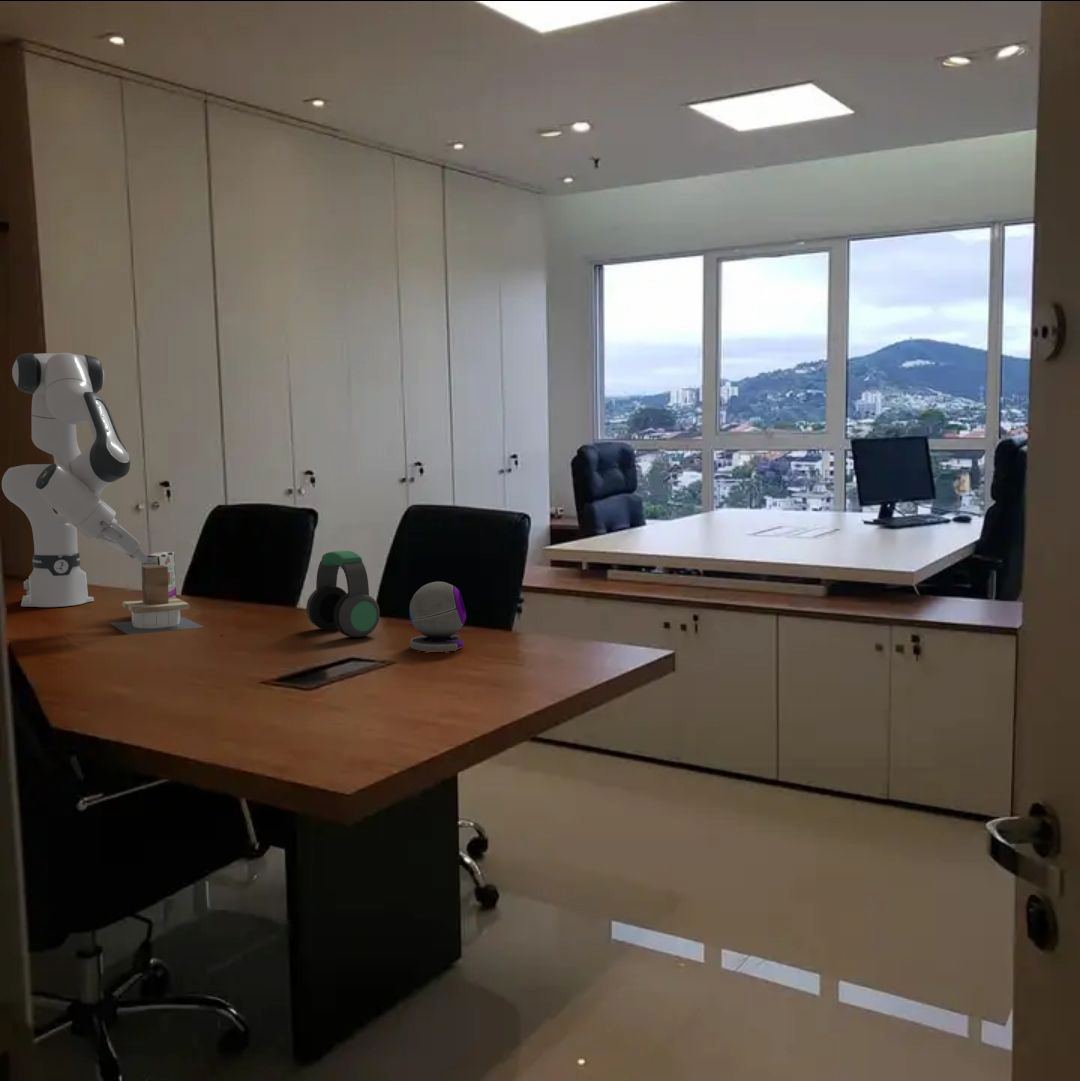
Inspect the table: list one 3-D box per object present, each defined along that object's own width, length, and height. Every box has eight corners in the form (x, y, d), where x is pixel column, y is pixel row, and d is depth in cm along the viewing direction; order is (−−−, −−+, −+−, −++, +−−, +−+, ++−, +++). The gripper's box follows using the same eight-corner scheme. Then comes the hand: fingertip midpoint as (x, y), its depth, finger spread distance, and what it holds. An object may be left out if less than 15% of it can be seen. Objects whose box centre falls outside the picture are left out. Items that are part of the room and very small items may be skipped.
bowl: (127, 623, 267) (127, 606, 266) (172, 619, 273) (171, 602, 273) (139, 630, 258) (138, 612, 257) (185, 626, 264) (184, 608, 264)
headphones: (303, 630, 262) (301, 549, 260) (341, 625, 269) (341, 546, 267) (343, 642, 248) (342, 556, 246) (383, 636, 255) (383, 553, 253)
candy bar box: (159, 613, 285) (157, 551, 284) (177, 612, 285) (175, 551, 284) (142, 618, 274) (140, 555, 273) (162, 618, 274) (159, 555, 273)
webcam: (464, 653, 237) (464, 586, 235) (406, 652, 236) (406, 585, 235) (467, 641, 249) (467, 578, 248) (412, 641, 249) (412, 577, 248)
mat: (109, 624, 268) (109, 623, 268) (181, 617, 278) (181, 616, 278) (128, 636, 253) (128, 634, 253) (204, 628, 263) (204, 626, 263)
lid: (122, 606, 267) (120, 565, 266) (175, 601, 274) (174, 562, 273) (134, 613, 256) (133, 571, 255) (189, 608, 263) (188, 567, 262)
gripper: (117, 514, 248) (161, 553, 255) (96, 508, 264) (138, 545, 271) (98, 534, 246) (142, 573, 252) (77, 526, 262) (120, 563, 269)
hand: (140, 558), depth 262 cm, fingers open, 8 cm apart
